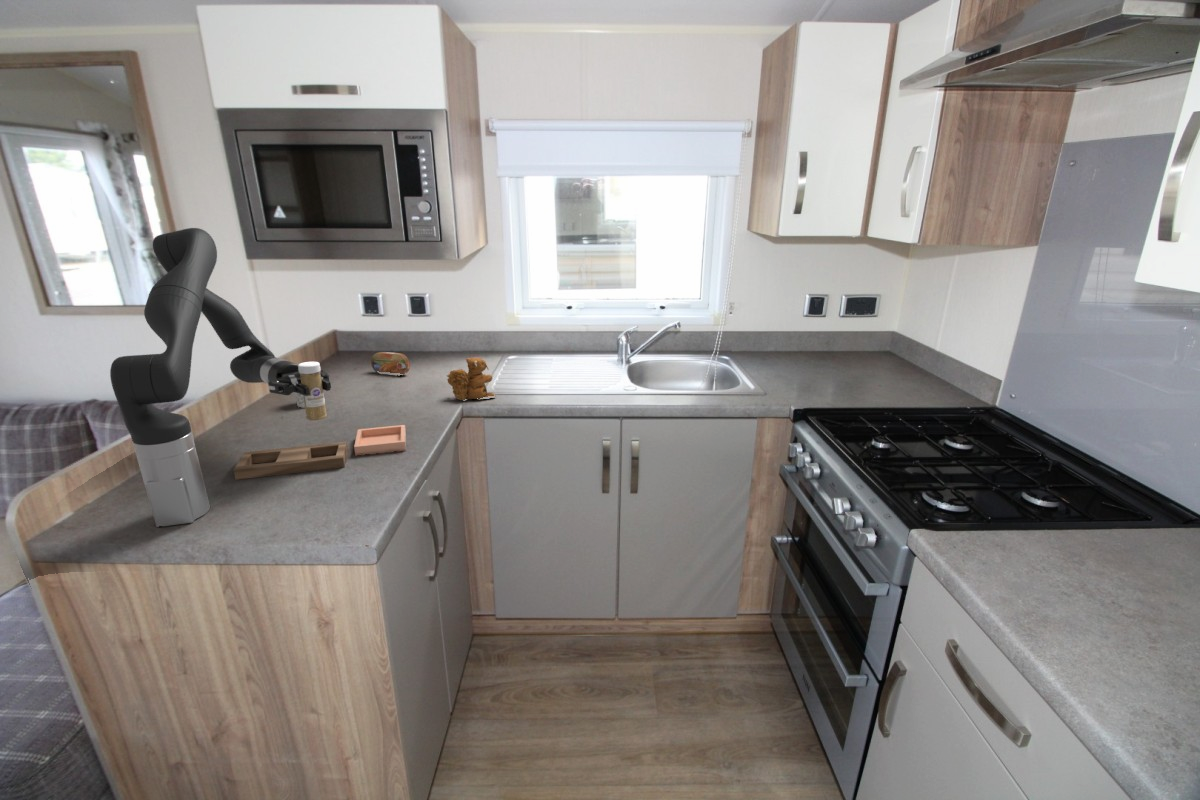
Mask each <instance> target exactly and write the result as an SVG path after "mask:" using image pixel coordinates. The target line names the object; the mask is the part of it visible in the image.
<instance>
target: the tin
mask: <svg viewBox="0 0 1200 800" xmlns="http://www.w3.org/2000/svg"><path fill="white" fill-rule="evenodd" d="M370 362H371V363H370V364H371V367H372V369H373V371H374V372H375V373H376V372H377V371H379V372H390V373H400V374H405V373H406V374H407V373H409V371H410V367H411V364H410V360H409V358H408V357H407V356H406V355H405V354H404V353H398V352H387V351H379V352H376V353H374V354H373V355H372V357H371V360H370ZM406 374H405V375H406Z"/></svg>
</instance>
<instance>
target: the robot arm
mask: <svg viewBox="0 0 1200 800" xmlns="http://www.w3.org/2000/svg"><path fill="white" fill-rule="evenodd" d="M152 249H153V252H154V255H155V257H156V258H157V261H158V262H159V264H160V265H161V266H162V268H163V269H164V271H166V274H165V275H163V276H162V277H161V278H159V280H157V281H156V283H155V284H154V285H153V286H152V287H151V289H150V291H149V294H148V297H147V300H146V303H145V306H144V310H143V315H144V318H145V320H146V323H147V325H148V326H149V328H150V329H151V330H152V331H153V332H154V333H155V335H157V337H159V338H160V340H161V341H162V342H163V343H164V344H165V346H166V349H165V350H164V351H163V352H161V353H154V354H153V353H152V354H137V355H124V356H118V357H117V358H115V359H114V360H113V361H112V363H111V365H110V371H109V374H110V375H109V377H110V382H111V386H112V390H113V393H114V396H115V398H116V402H117V404H118V407H119V409H120V410H119V411H120V412H121V415H122V418H123V421H124V424H125V427H126V429H127V431H128V433H129V434H130V438H131V440H132V445H133V448H134V451H135V456H136V459H137V463H138V465H139V469H140V473H141V474H140V475H141V476H142V477H141V478H142V480H143V484H144V487H145V491H146V494H147V497H148V502H149V505H150V508H151V512H152V516H153V519H154V523H155V525H156V526H155V527H156V528H159V526H162V527H168V526H175V525H184V524H190V523H191V524H192V523H194V522H195V521H196V519H199V518H201V517H203V516H204V515H206V514H207V513H208V512H209V511H210V508H211V506H210V502H209V501H210V500H209V498H208V493H207V489H206V485H205V481H204V477H203V471H202V469H201V465H200V461H199V456H198V452H197V449H196V444H195V439H194V435H193V431H192V427H191V423H190V420H189V419H188V417H186V416H184V415H182V414H179V413H175V412H174V413H173V412H170V411H166V410H163V409H160V408H158V407H157V406H155V405H153V404H164V403H173V402H177V401H180V400H182V399H184V397H185V396H186V395H187V392H188V389H189V386H190V379H191V378H190V377H191V368H192V359H193V357H192V356H193V347H194V343H195V336H196V332H197V329H198V326H199V321H200V318H201V314H203V315H204V316H205V319H206V320H207V321H208V323H209V324H210V326H211V327H212V329H213V330H214V332H215V333H216V335H217V337H218V338H219V339H220V342H221V343H222V344H223V345H224V346H225V348H227V349H229V350H236V349H241V348H244V347H249V348H250V349H249V350H246V351H245V352H243V353H240V354H239V355H237V356H235V357H233V358H232V359H231V361H230V365H229V369H230V372H231V374H232V375H233V376H234V377H235V378H237V380H239V381H242V382H244V383H247V384H248V383H251V384H256V383H264V384H266V385H267V386H268V390H269V393H272V394H278V395H283V396H290V395H291V394H294V395H295V394H301V395H305V396H309V395H310V393H309V388H308V386H305V385H303V384H301V377H300V373H299V370H298V365H299V363H295V362H292V361H289V360H287V359H283V358H278V357H276V356H275V354H274V353H273V352H272V350H270V348H268V347H267V346H266V345H265V344H264V343H262V342H261V341H260V340H259V339H258V337H256V335H255V334H254V333H253V332H252V330H251V329H250V327H249V326H248V324H247V322H246V319H245V318H244V317H243V315H242V314H241V313H240V311H239V309H237V308H236V307H235V306H234V305H233V304H232V303H230V301H227V300H226V299H224V298H223V297H221V296H219V295H217V294H216V293H215V292H213V291H211V290H210V289H208V287H207V286H208V284H209V280H210V279H211V275H212V273H213V272H214V269H215V267H216V264H217V261H218V250H217V249H218V248H217V246H216V243H215V240H214V239H213V236H212V235H211V234H210V233H208V231H206V230H204V229H203V228H199V227H190V228H183V229H180V230H179V229H178V230H176V231H175V230H174V231H171V232H166V233H162V234H159V235H158V234H157V235H156V236H155V237H154V238H153V240H152ZM320 375H321V381H322V386H323V391H326V392H329V391H331V389H332V386H331V384H332V383H331V381H330V375H329V374H328V373H327V371H325V370H323V369H321V370H320Z"/></svg>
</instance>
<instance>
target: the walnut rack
mask: <svg viewBox="0 0 1200 800" xmlns="http://www.w3.org/2000/svg"><path fill="white" fill-rule="evenodd" d="M335 454H336V455H335ZM348 454H349V444H348V441H339V442H333V443H332V442H331V443H322V444H312V445H311V444H309V445H302V446H293V447H292V446H291V447H282V448H273V449H272V448H271V449H263V450H252V451H245V452H244V453H243V454H242V455H241V457H240V459H239V461H238V462H237V463H236V464H235V466H234V467H233V475H234V478H235V479H234V480H243V479H244V480H245V479H251V478H253V479H254V478H261V477H271V476H278V475H279V476H280V475H287V474H295V473H297V474H298V473H304V472H313V471H323V470H332V469H333V470H334V469H341V467H342V468H345V467H346V463H347V458H348ZM327 455H328V456H327ZM345 462H346V463H345Z"/></svg>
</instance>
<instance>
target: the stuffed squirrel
mask: <svg viewBox="0 0 1200 800" xmlns="http://www.w3.org/2000/svg"><path fill="white" fill-rule="evenodd" d="M465 360H466V363H467V368H468V372H467V371H466V370H464V369H461V368H459V369H455V370H450V372H449V373H448V374H447V375H446V377H447V379H446V381H447V383H448V385H450V386H451V387H452V394H453V395H454V398H456V399H457V400H459V401H461V400H465V399H468V400H472V399H477V398H478V399H480V398H483V397H488V396H494V395H495V396H496V394H495V393H494V392H488V391H487V389H488V388H487V386H486V384H487V383H491V381H493V376H492V375H491V374H486V373H485V374H484V373H483V372H484V371H485V370H486V369H487V371H489V366H488V365H487V362H486V360H484V359H483V358H480V357H479V356H478V357H477V356H476V357H475V356H474V357H471V358H470V357H467V358H466V359H465Z"/></svg>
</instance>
